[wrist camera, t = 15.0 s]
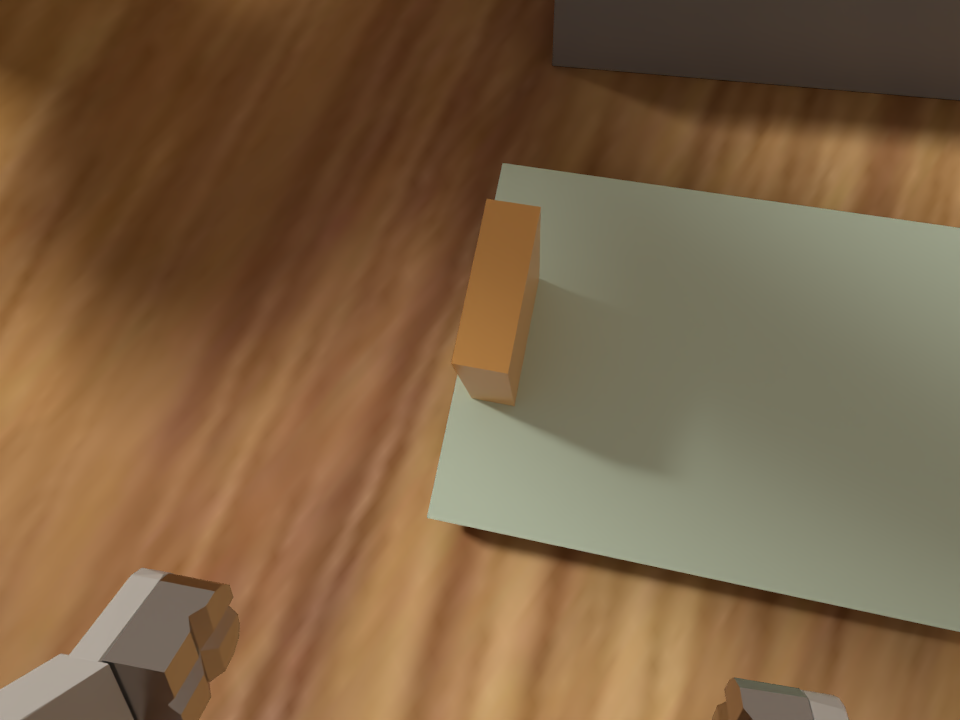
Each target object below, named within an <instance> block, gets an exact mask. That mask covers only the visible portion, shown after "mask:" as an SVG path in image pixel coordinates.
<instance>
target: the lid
mask: <svg viewBox="0 0 960 720" xmlns="http://www.w3.org/2000/svg"><path fill="white" fill-rule="evenodd" d="M451 364H452V366H453V367H454V369H455V371H456V373H457V379H456V384H455V388H454V393H453V398H452V402H451V407H450V412H449V417H448V421H447V426H446V431H445V435H444V440H443V445H442V449H441V454H440V459H439V463H438V468H437V473H436V477H435V482H434V487H433V492H432V496H431V501H430V506H429V510H428V515H427V518H430V519H435V520H439V521H444V522H449V523H453V524H458V525H463V526H467V527H472V528H477V529H481V530H486V531H491V532H495V533H500V534H505V535H509V536H514V537H519V538H523V539H528V540H533V541H537V542H542V543H547V544H551V545H556V546H561V547H565V548H570V549H575V550H579V551H584V552H589V553H593V554H598V555H603V556H607V557H612V558H617V559H621V560H626V561H631V562H635V563H640V564H645V565H649V566H654V567H659V568H663V569H668V570H673V571H677V572H682V573H687V574H691V575H696V576H701V577H705V578H710V579H715V580H719V581H724V582H729V583H733V584H738V585H743V586H747V587H752V588H757V589H761V590H766V591H771V592H775V593H780V594H785V595H789V596H794V597H799V598H803V599H808V600H813V601H817V602H822V603H827V604H831V605H836V606H841V607H845V608H850V609H855V610H859V611H864V612H869V613H873V614H878V615H883V616H887V617H892V618H897V619H901V620H906V621H911V622H915V623H920V624H925V625H929V626H934V627H939V628H943V629H948V630H953V631H957V632H960V228H956V227H949V226H942V225H935V224H928V223H921V222H914V221H907V220H900V219H893V218H886V217H879V216H872V215H865V214H858V213H851V212H844V211H837V210H830V209H823V208H816V207H809V206H802V205H795V204H788V203H781V202H774V201H766V200H759V199H752V198H745V197H738V196H731V195H724V194H717V193H710V192H703V191H696V190H689V189H682V188H675V187H668V186H661V185H654V184H647V183H640V182H633V181H626V180H619V179H612V178H605V177H598V176H591V175H584V174H577V173H570V172H563V171H556V170H548V169H541V168H534V167H527V166H520V165H513V164H506V163H503V164H502V168H501V173H500V178H499V182H498V187H497V192H496V196H495V200H492V199H487V200H486V204H485V209H484V213H483V218H482V223H481V227H480V232H479V237H478V241H477V246H476V250H475V255H474V260H473V264H472V269H471V274H470V278H469V283H468V287H467V292H466V297H465V301H464V306H463V311H462V315H461V320H460V324H459V329H458V334H457V338H456V343H455V348H454V352H453V357H452V361H451Z"/></svg>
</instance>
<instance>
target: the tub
mask: <svg viewBox="0 0 960 720" xmlns="http://www.w3.org/2000/svg"><path fill="white" fill-rule="evenodd" d="M552 66H564V67H576V68H587V69H599V70H611V71H623V72H634V73H646V74H658V75H669V76H681V77H693V78H705V79H716V80H728V81H740V82H751V83H763V84H775V85H787V86H798V87H810V88H822V89H833V90H845V91H857V92H869V93H880V94H892V95H904V96H915V97H927V98H939V99H951V100H960V0H555V8H554V33H553V58H552Z"/></svg>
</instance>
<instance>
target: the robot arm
mask: <svg viewBox="0 0 960 720" xmlns="http://www.w3.org/2000/svg"><path fill="white" fill-rule="evenodd" d="M232 599H233V594H232V591H231V588H230V585H229V584H224V583H218V582H213V581H208V580H203V579H197V578H192V577H187V576H182V575H176V574H173V573H169V572H163V571H157V570H152V569H146V568H141V569H139V570H138V571H137V572H135V573H134V574H132V575H131V576H130V577H129V578H128V580H127V581H126V582H125V584H124V585H123V586H122V587H121V589H120V590H119V591H118V593H117V594H116V595H115V596H114V598H113V599H112V600H111V602H110V603H109V604H108V605H107V607H106V608H105V609H104V611H103V612H102V613H101V615H100V616H99V617H98V618H97V620H96V621H95V622H94V624H93V625H92V626H91V627H90V629H89V630H88V631H87V633H86V634H85V635H84V636H83V638H82V639H81V640H80V642H79V643H78V644H77V645H76V647H75V648H74V649H73V651H72V652H71V653H70V654H69V655H67V654H59V655H57V656H56V657H54V658H52V659H51V660H49V661H47V662H46V663H44V664H42V665H41V666H39V667H37V668H35V669H34V670H32V671H30V672H29V673H27V674H25V675H24V676H22V677H20V678H19V679H17V680H15V681H14V682H12V683H10V684H8V685H7V686H5V687H3V688H2V689H0V720H199V719H200V717H201V715H202V713H203V711H204V709H205V708H206V706H207V704H208V702H209V700H210V698H211V691H210V683H209V682H210V681H212V680H213V679H215V678H216V677H217V676H219V675H220V674H222V673H223V672H225V670H226V669H227V667H228V665H229V663H230V661H231V659H232V657H233V655H234V652H235V649H236V645H237V642H238V639H239V632H240V622H239V617H238V614H237V613H236V612H235V611H234V610H233V609H232V608H231V607H230V606H229V604H230V603H231V601H232ZM725 696H726V702H724V703H722V704H720V705H717V707H716V710H715V712H714V715H713V717H712V720H849V718H848V715H847V712H846V709H845V706H844V704H843V703H842V702H841V700H840V699H839V698H838V697H836V696H834V695H829V694H823V693H817V692H812V691H806V690H800V689H799V688H793V687H787V686H782V685H776V684H770V683H764V682H758V681H752V680H746V679H740V678H732V679H730V680H729V681H728V683H727V685H726V687H725Z"/></svg>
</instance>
